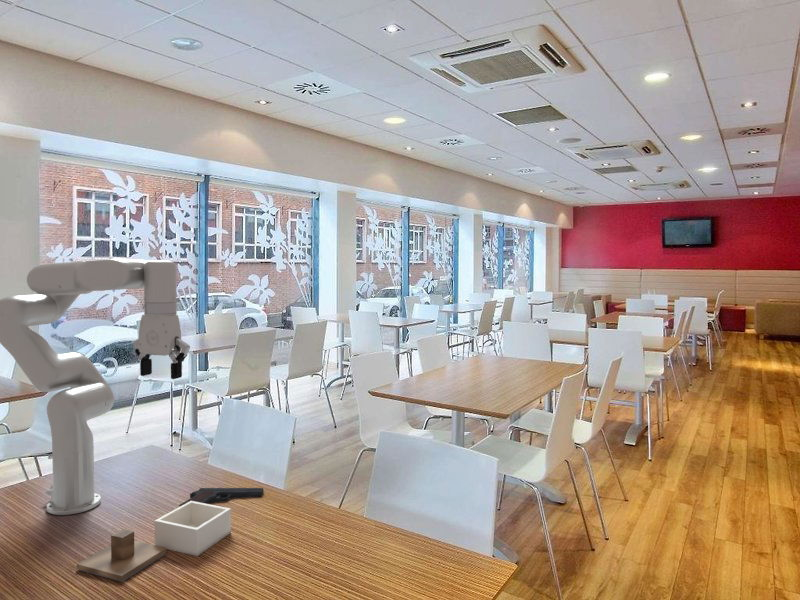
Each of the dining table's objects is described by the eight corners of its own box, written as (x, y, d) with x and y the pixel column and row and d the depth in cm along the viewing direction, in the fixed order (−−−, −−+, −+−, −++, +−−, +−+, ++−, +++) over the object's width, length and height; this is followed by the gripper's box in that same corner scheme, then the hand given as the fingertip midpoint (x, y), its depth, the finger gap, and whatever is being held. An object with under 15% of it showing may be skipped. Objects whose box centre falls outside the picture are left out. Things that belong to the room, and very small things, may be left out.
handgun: (257, 505, 150) (263, 486, 162) (178, 505, 148) (191, 486, 160) (256, 514, 150) (263, 494, 162) (178, 514, 148) (190, 494, 160)
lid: (76, 568, 119) (76, 540, 119) (124, 542, 131) (123, 516, 130) (121, 580, 115) (121, 552, 114) (166, 552, 126) (166, 526, 126)
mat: (78, 570, 119) (78, 568, 119) (124, 544, 130) (124, 542, 130) (122, 582, 115) (122, 580, 115) (165, 554, 126) (165, 552, 126)
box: (154, 546, 130) (154, 520, 130) (191, 524, 141) (190, 500, 141) (197, 556, 126) (196, 529, 125) (230, 532, 137) (230, 508, 137)
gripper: (122, 309, 142) (123, 376, 143) (177, 311, 136) (177, 382, 137) (145, 307, 149) (145, 371, 150) (198, 309, 143) (198, 376, 144)
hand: (161, 376), depth 143 cm, fingers open, 9 cm apart
